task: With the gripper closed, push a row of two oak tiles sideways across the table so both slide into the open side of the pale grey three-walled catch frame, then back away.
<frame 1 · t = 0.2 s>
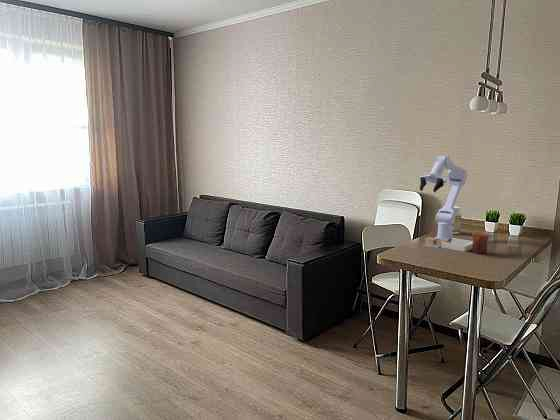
hand: (427, 190, 233), 31 cm above the table, tool tilted 45°, fingers open, 7 cm apart
tile rear: (430, 242, 246), on the table
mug: (478, 253, 223), on the table
slate coaster: (432, 246, 238), on the table
tile front: (442, 244, 242), on the table
supplement tub: (449, 232, 276), on the table
catch frame: (457, 246, 236), on the table
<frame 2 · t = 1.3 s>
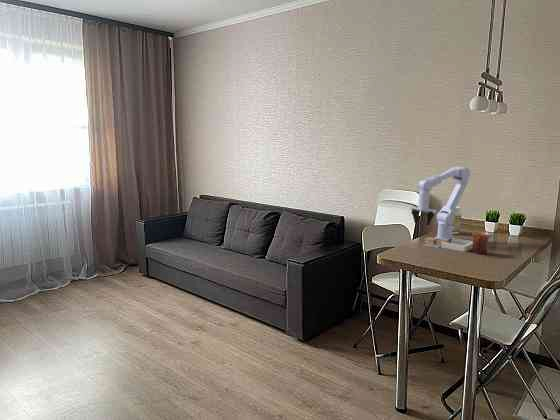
hand: (421, 223, 251), 9 cm above the table, tool pointing down, fingers open, 7 cm apart
nothing on the table moved.
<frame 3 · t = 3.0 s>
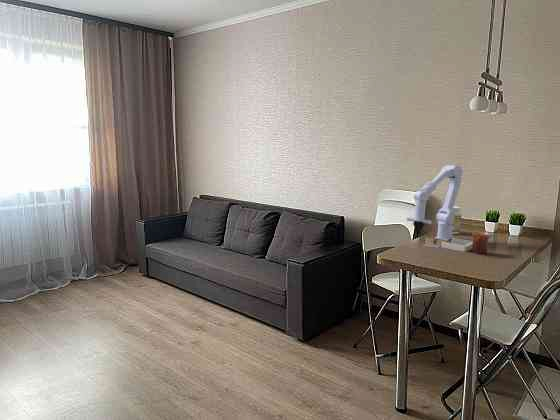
hand: (418, 234, 251), 3 cm above the table, tool pointing down, fingers closed
nothing on the table moved.
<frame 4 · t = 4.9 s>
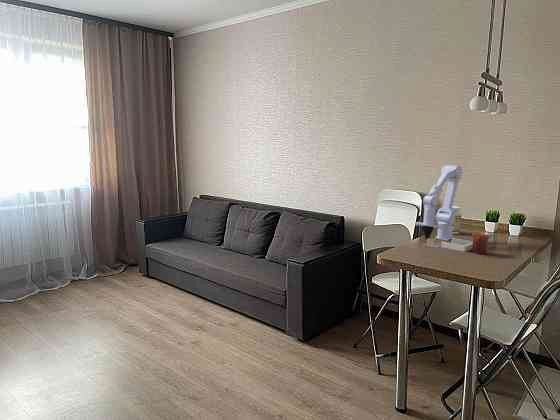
hand: (427, 239, 248), 1 cm above the table, tool pointing down, fingers closed
tile rear: (432, 242, 246), on the table, touching gripper
everything else where it was.
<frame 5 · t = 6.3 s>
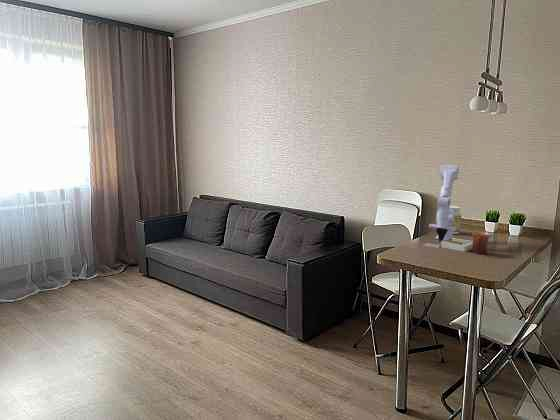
hand: (440, 241, 242), 1 cm above the table, tool pointing down, fingers closed
tile rear: (446, 245, 240), on the table, touching gripper, tile front
tile front: (455, 246, 237), on the table, touching tile rear
everything else where it was.
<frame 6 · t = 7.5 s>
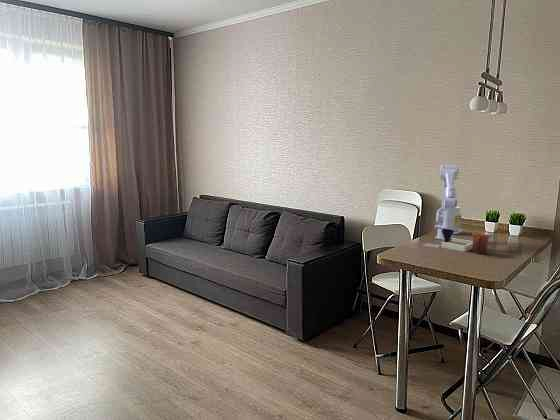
hand: (446, 242, 240), 1 cm above the table, tool pointing down, fingers closed
tile rear: (452, 246, 238), on the table
tile front: (461, 248, 235), on the table
everything else where it was.
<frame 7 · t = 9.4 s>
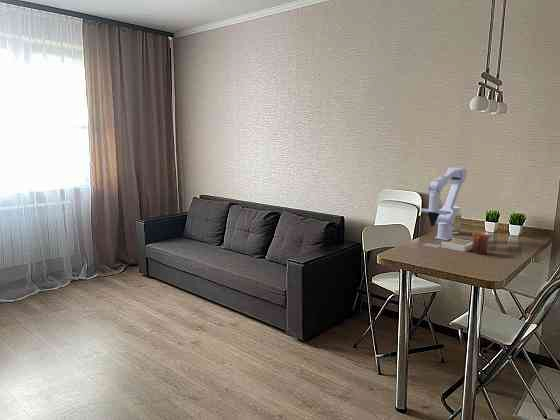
hand: (432, 225, 246), 9 cm above the table, tool pointing down, fingers closed
nothing on the table moved.
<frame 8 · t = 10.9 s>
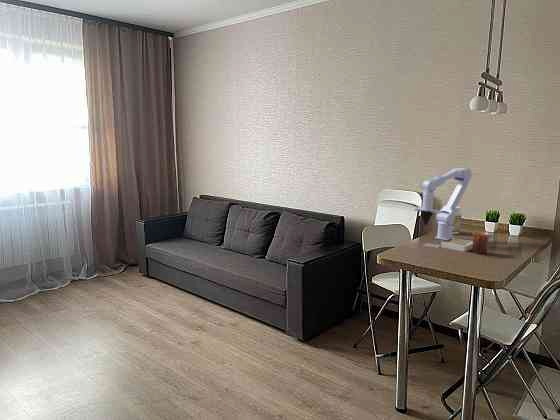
hand: (426, 224, 250), 9 cm above the table, tool pointing down, fingers closed
nothing on the table moved.
at the end: tile rear inside the target area on the catch frame (2.6 cm from its centre), point 0.0 cm above the catch frame's base; tile front inside the target area on the catch frame (2.5 cm from its centre), point 0.0 cm above the catch frame's base; slate coaster moved 0.6 cm from its start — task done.
